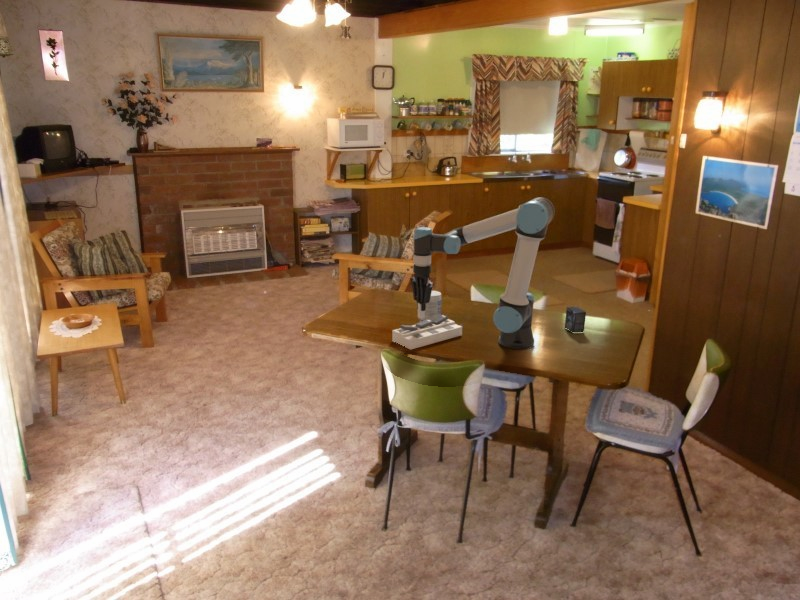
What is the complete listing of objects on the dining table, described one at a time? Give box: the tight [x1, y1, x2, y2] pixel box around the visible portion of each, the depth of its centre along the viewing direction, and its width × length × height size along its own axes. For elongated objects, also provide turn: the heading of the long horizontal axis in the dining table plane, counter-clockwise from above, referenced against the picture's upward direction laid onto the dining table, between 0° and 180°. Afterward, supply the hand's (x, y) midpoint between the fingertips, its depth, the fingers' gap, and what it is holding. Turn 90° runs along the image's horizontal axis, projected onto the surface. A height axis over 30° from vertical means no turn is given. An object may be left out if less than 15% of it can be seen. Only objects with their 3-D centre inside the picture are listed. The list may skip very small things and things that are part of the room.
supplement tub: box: [419, 290, 442, 322], centre depth 318 cm, size 10×10×15 cm
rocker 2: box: [415, 319, 433, 328], centre depth 301 cm, size 3×7×2 cm, turn 130°
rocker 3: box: [432, 314, 449, 325], centre depth 307 cm, size 3×7×2 cm, turn 130°
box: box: [564, 306, 587, 332], centre depth 314 cm, size 8×6×11 cm
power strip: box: [391, 318, 464, 350], centre depth 302 cm, size 12×36×5 cm, turn 130°
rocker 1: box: [399, 324, 417, 331], centre depth 295 cm, size 3×7×2 cm, turn 130°
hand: (421, 317), depth 298 cm, fingers closed
